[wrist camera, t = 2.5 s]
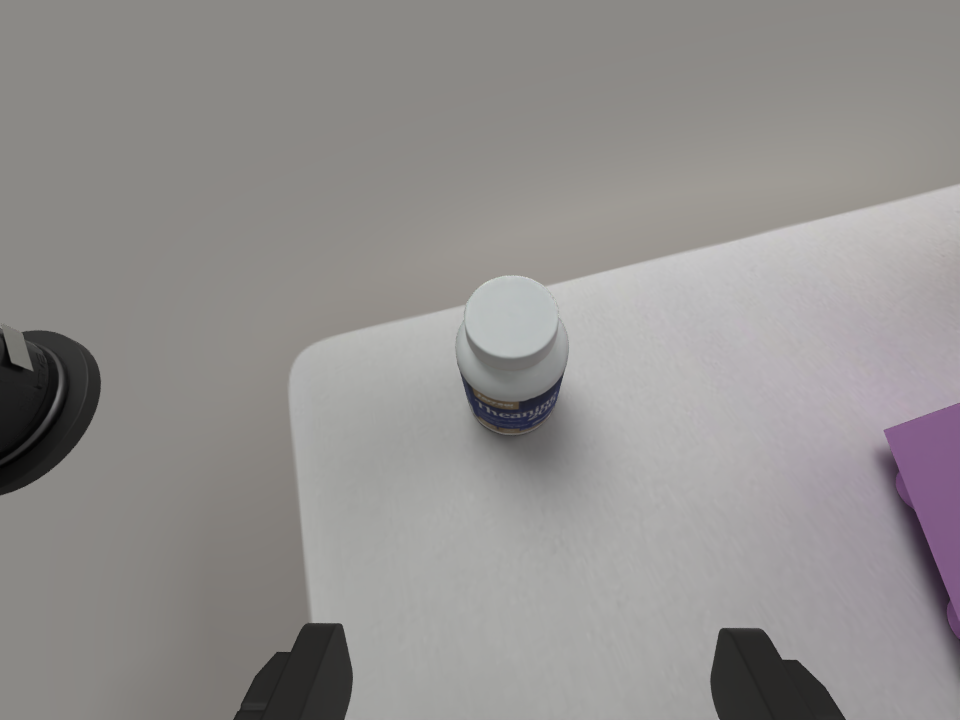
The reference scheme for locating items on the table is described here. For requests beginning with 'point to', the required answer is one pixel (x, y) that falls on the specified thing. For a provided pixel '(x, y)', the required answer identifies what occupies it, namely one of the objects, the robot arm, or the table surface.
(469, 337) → the pill bottle
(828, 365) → the table surface
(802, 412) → the table surface
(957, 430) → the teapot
